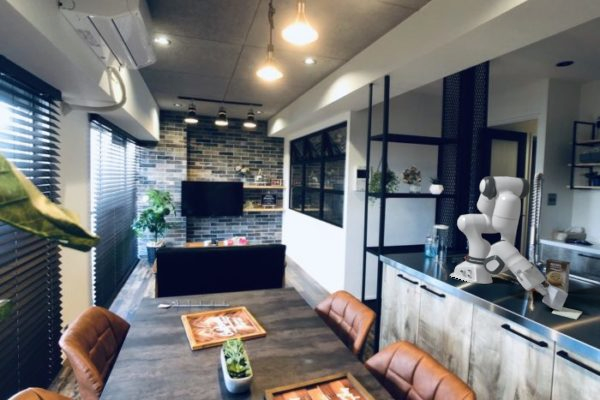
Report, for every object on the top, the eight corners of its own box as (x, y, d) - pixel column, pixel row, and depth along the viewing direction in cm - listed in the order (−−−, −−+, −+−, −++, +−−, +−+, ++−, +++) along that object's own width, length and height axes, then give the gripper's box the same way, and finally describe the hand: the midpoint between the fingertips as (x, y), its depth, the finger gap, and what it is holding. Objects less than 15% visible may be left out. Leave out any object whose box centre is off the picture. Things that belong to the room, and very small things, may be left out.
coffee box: (543, 289, 179) (545, 259, 178) (548, 287, 183) (549, 258, 182) (564, 294, 172) (566, 263, 171) (568, 291, 176) (570, 261, 175)
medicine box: (560, 311, 146) (568, 293, 145) (549, 307, 147) (558, 289, 146) (551, 305, 154) (559, 288, 153) (541, 301, 155) (549, 284, 154)
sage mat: (551, 313, 146) (551, 311, 146) (558, 307, 153) (558, 306, 153) (576, 319, 140) (576, 318, 140) (582, 313, 147) (582, 311, 147)
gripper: (520, 268, 150) (545, 295, 144) (534, 261, 164) (557, 286, 157) (508, 275, 154) (532, 302, 147) (523, 268, 167) (545, 293, 160)
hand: (545, 294), depth 152 cm, fingers closed
